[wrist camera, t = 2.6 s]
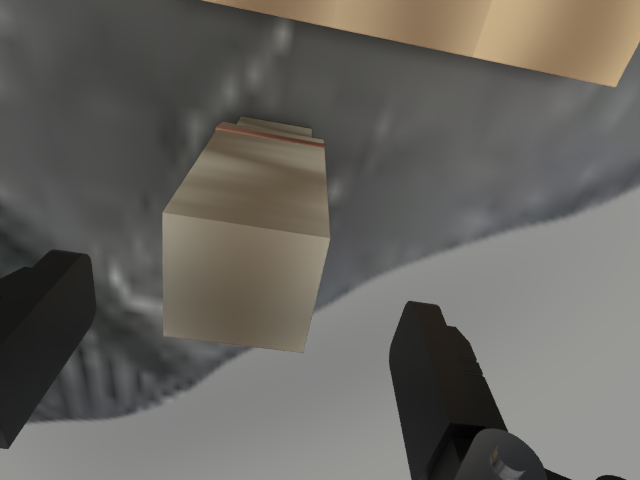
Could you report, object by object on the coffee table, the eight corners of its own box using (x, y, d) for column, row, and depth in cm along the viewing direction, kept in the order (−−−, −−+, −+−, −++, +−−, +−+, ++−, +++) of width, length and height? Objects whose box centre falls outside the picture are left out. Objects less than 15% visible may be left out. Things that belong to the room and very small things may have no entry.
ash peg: (225, 188, 20) (162, 337, 12) (231, 104, 18) (160, 210, 10) (307, 202, 21) (304, 354, 12) (323, 121, 19) (333, 237, 10)
